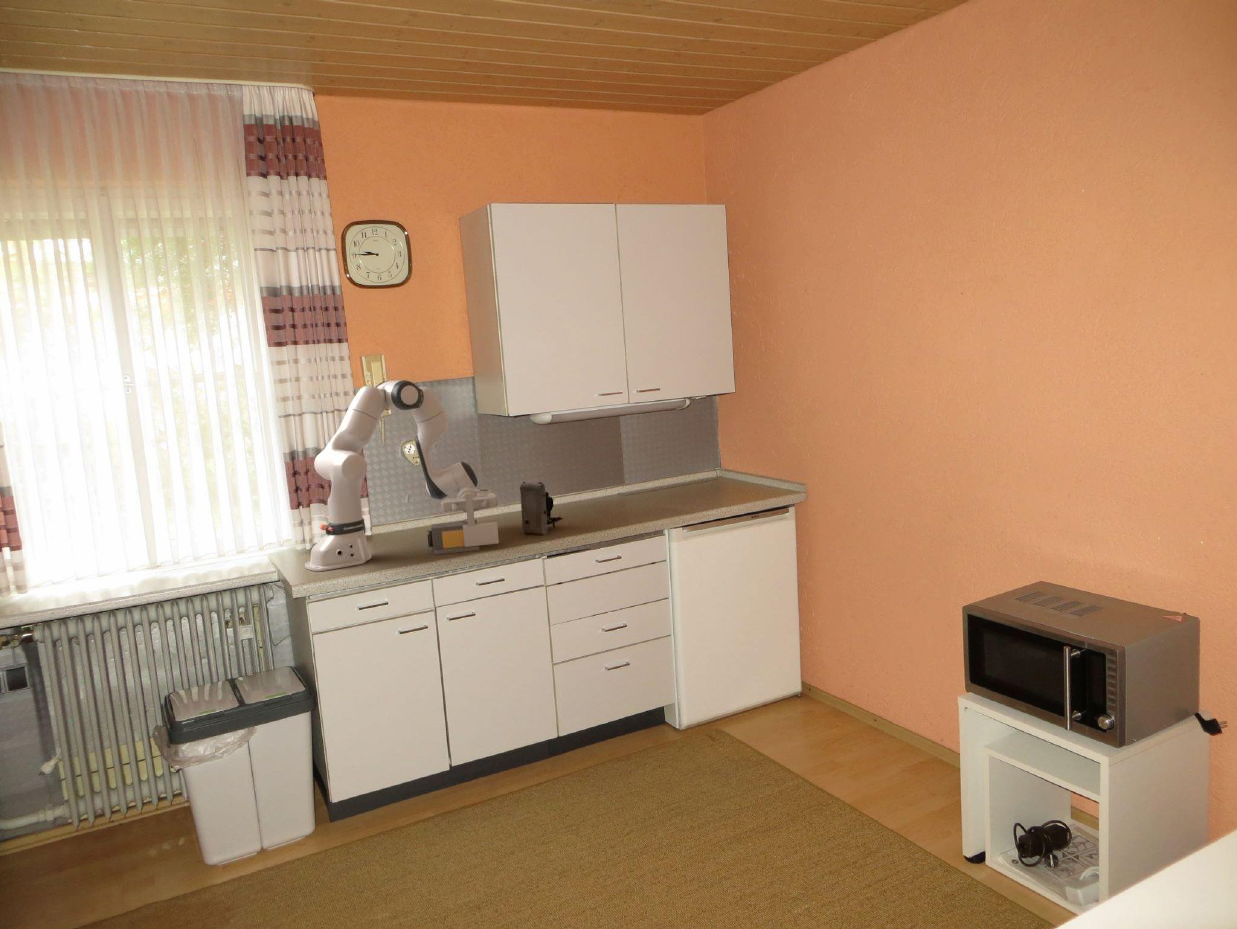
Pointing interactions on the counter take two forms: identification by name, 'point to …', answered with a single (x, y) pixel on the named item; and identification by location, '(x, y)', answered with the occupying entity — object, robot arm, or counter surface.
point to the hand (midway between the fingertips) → (470, 506)
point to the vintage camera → (536, 508)
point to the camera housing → (448, 538)
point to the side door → (478, 528)
